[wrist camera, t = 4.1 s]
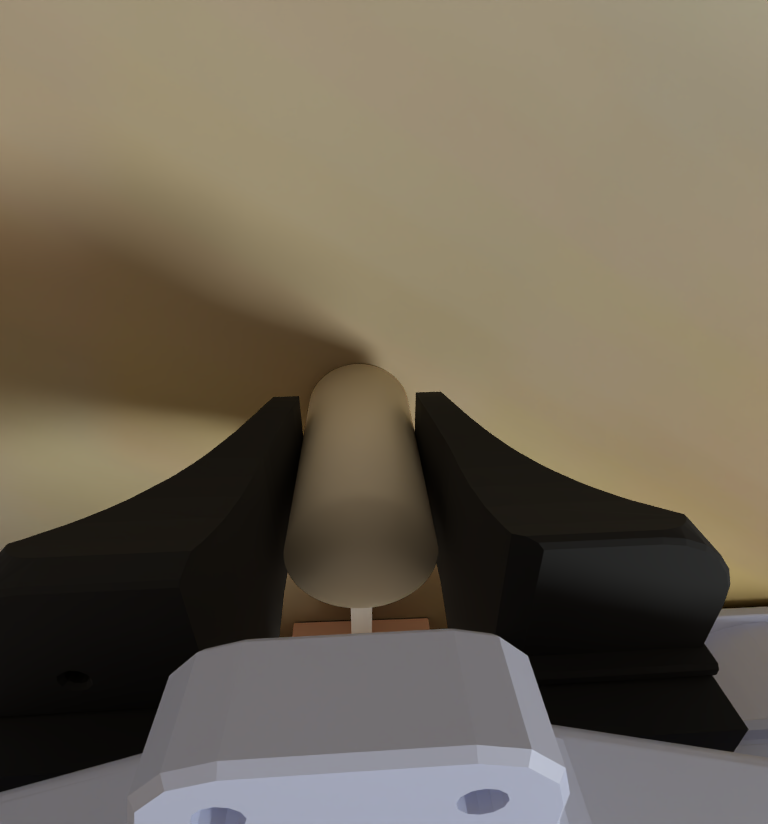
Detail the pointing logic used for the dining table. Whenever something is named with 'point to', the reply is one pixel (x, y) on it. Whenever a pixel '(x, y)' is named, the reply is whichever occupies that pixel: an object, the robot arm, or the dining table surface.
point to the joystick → (359, 503)
